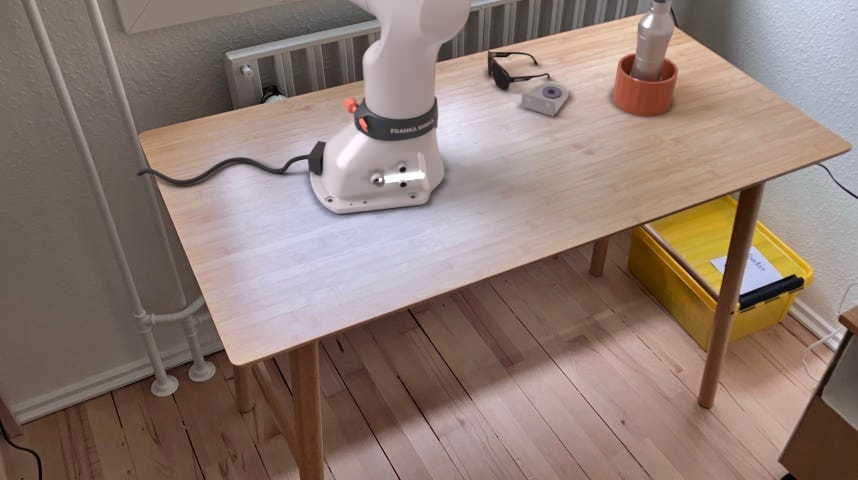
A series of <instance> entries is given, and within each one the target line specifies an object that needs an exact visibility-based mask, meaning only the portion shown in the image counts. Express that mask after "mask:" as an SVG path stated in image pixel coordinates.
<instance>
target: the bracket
mask: <svg viewBox="0 0 858 480" xmlns="http://www.w3.org/2000/svg"><path fill="white" fill-rule="evenodd" d="M569 95H570V93H569V90H568V89H567V87H565V86H564V85H562V84H560V83H555V82H546V83H542V84H540V85H538V86H537V87H536V88H535V89H534V91H533V92H532V93H531V94H530V93H527V92H522V93H521V107H524V109H528V110H531V111H533V112H538V113H540V114H544V115H547V116H553V117H554V116H556V114H557V113H558V112H559V111H560V109H561V108H562V107H563V105H564V104H565V103H566V101H567V100H568V99H569ZM526 98H527V99H526Z"/></svg>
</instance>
